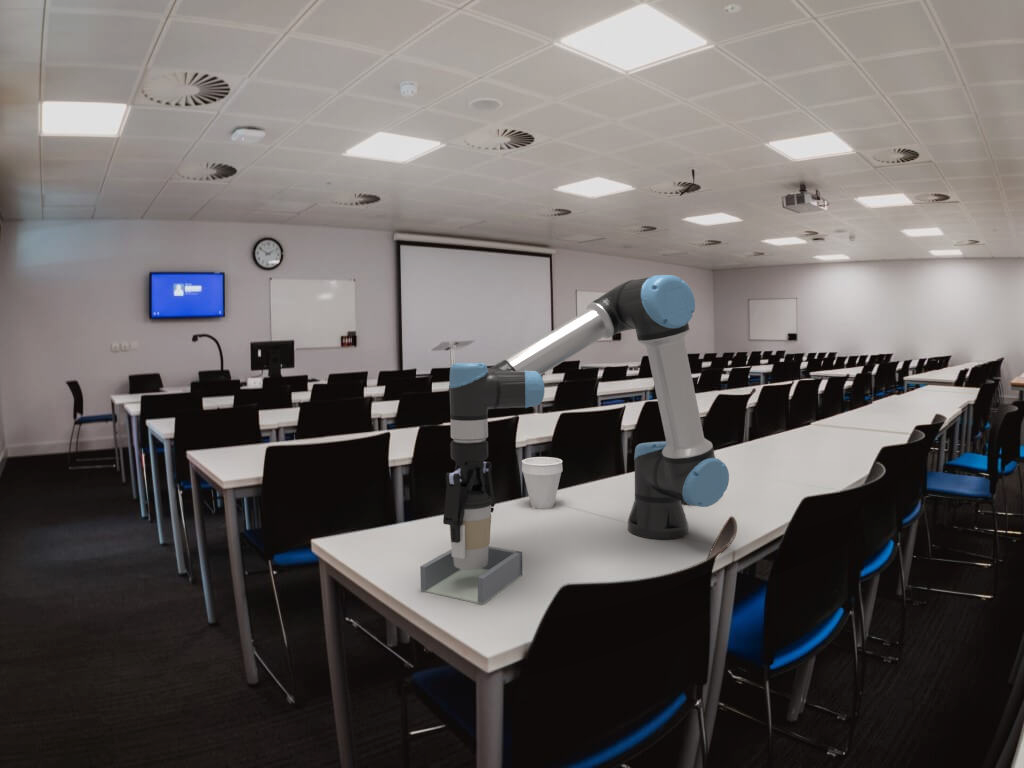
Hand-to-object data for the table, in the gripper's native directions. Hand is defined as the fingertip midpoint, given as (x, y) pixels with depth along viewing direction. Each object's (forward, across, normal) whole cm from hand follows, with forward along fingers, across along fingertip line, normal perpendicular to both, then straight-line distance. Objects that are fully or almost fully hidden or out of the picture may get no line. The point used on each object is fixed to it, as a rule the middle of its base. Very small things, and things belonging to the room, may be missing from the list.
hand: (470, 549), depth 123 cm
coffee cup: (+3, 0, 0) cm, 3 cm away
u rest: (+7, 0, 0) cm, 7 cm away
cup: (+7, -60, -12) cm, 62 cm away
